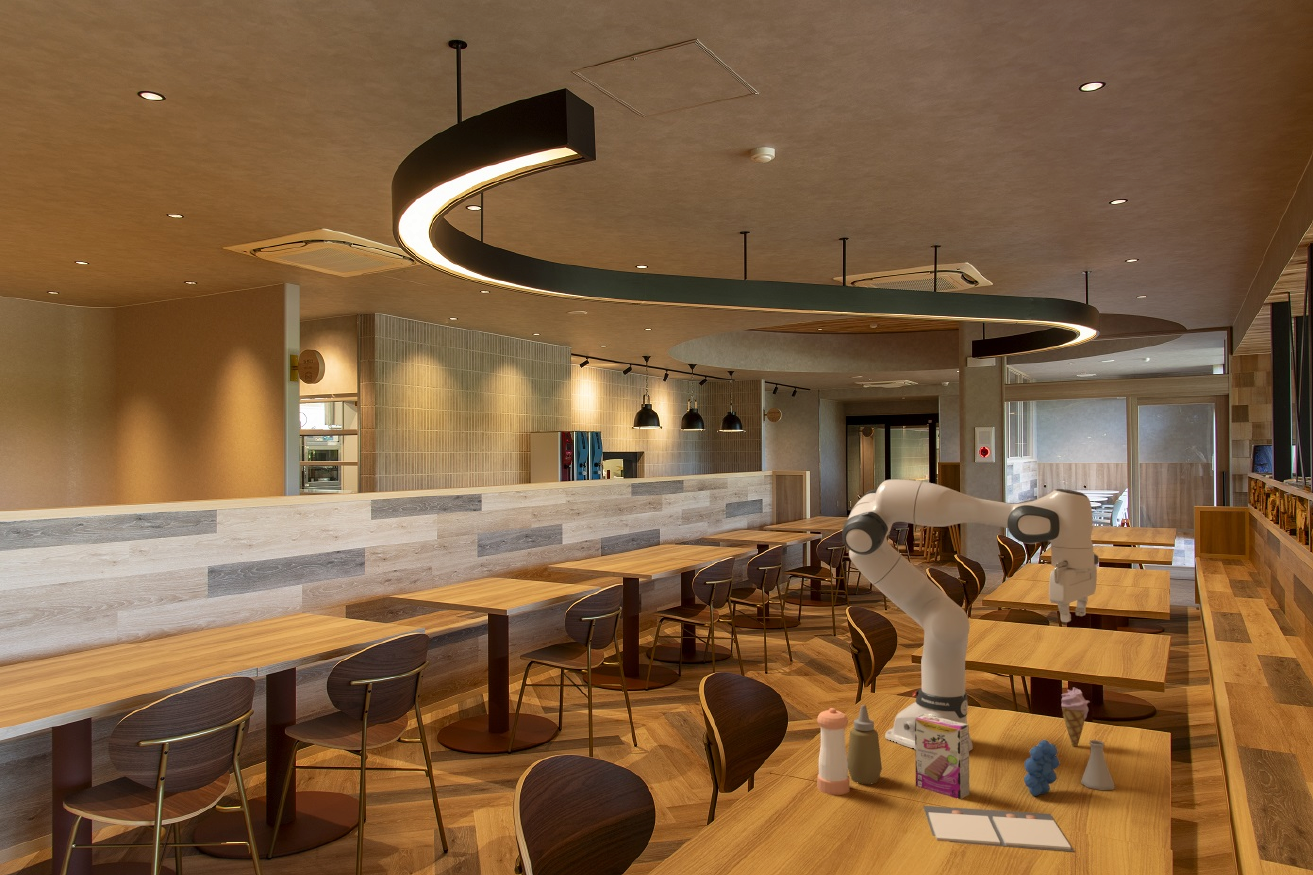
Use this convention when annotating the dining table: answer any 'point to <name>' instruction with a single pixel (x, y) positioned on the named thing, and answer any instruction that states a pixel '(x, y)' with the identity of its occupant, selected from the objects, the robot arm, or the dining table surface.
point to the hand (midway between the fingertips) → (1073, 618)
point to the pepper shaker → (833, 753)
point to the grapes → (1041, 768)
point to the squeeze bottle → (864, 750)
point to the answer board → (996, 828)
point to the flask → (1097, 769)
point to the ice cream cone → (1074, 713)
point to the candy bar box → (942, 755)
